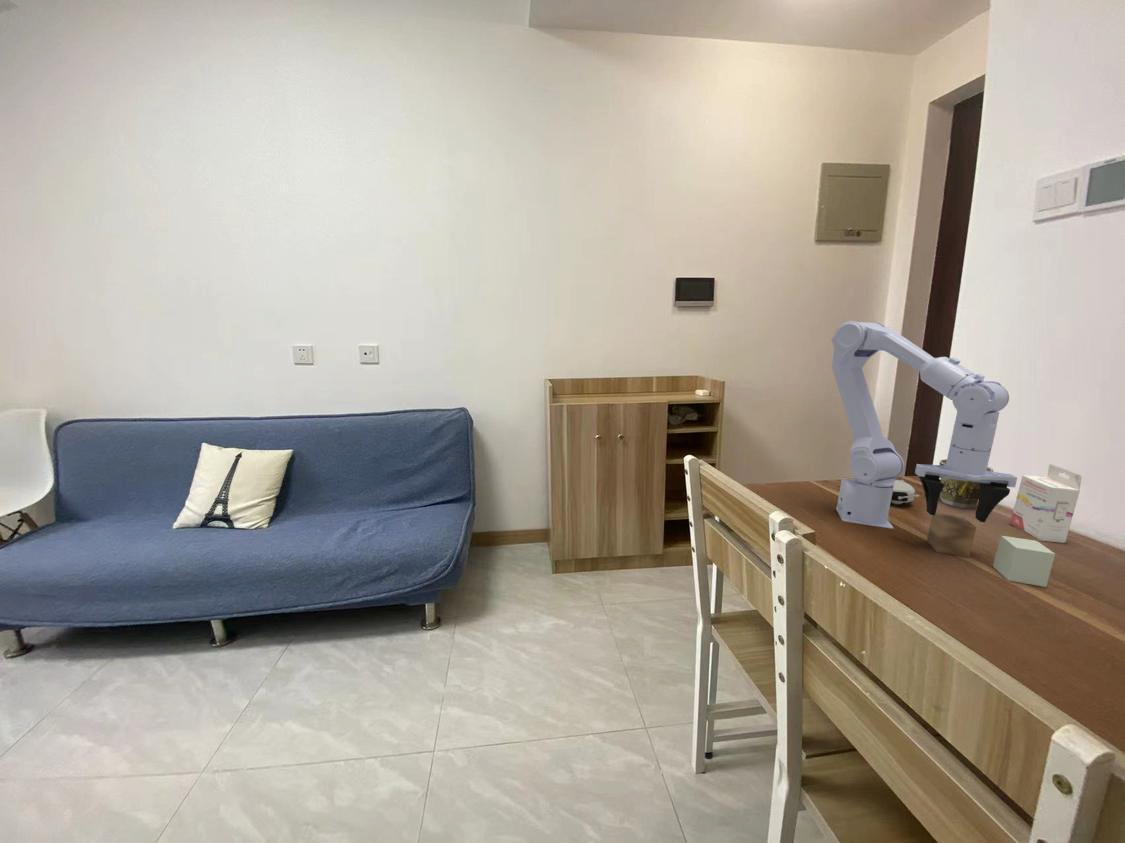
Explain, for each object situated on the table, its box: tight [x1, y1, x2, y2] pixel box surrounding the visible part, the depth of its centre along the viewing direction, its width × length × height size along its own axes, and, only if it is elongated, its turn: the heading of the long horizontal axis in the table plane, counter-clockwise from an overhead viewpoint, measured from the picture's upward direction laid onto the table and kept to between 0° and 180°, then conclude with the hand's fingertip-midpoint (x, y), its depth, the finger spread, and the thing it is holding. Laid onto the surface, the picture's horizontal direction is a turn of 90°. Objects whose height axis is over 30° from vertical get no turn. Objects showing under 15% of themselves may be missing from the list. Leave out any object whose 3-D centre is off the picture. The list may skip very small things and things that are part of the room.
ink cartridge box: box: [1009, 463, 1083, 544], centre depth 97 cm, size 9×5×15 cm, turn 168°
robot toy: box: [840, 477, 920, 505], centre depth 116 cm, size 12×4×15 cm
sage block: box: [992, 535, 1056, 588], centre depth 79 cm, size 5×5×6 cm
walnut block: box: [926, 512, 977, 558], centre depth 88 cm, size 5×5×6 cm
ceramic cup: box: [939, 458, 994, 509], centre depth 112 cm, size 13×10×10 cm
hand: (954, 516), depth 87 cm, fingers open, 7 cm apart
